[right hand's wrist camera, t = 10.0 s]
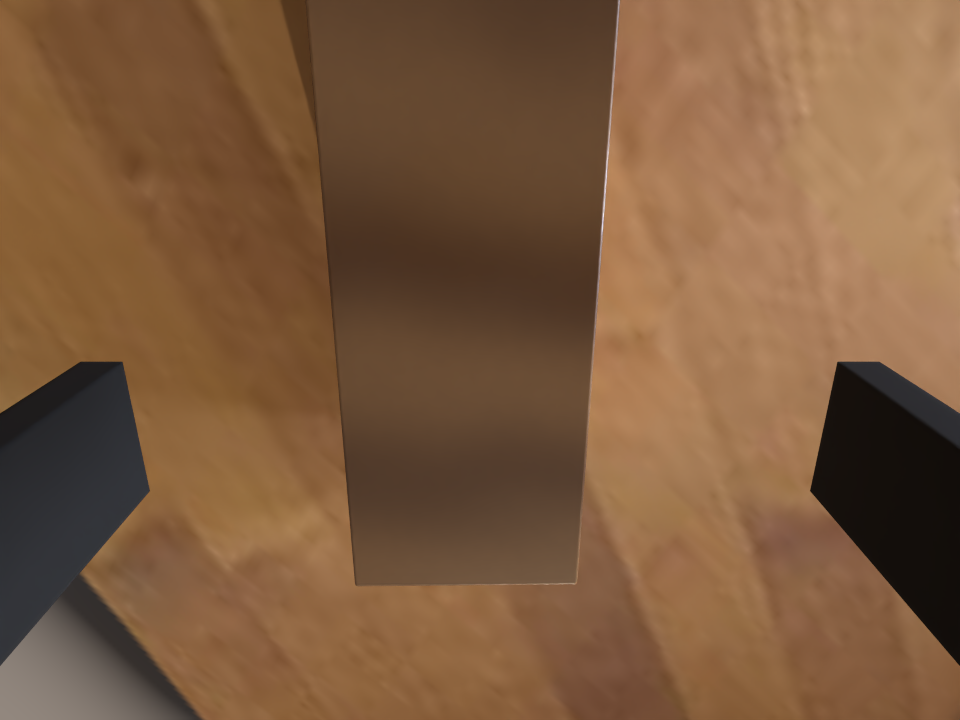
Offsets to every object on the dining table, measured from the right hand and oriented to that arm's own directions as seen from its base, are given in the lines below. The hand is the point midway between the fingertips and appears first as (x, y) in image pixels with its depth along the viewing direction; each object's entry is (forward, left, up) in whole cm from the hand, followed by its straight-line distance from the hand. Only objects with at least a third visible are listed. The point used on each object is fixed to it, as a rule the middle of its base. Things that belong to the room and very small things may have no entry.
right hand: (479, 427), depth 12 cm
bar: (-2, -21, -11) cm, 23 cm away
